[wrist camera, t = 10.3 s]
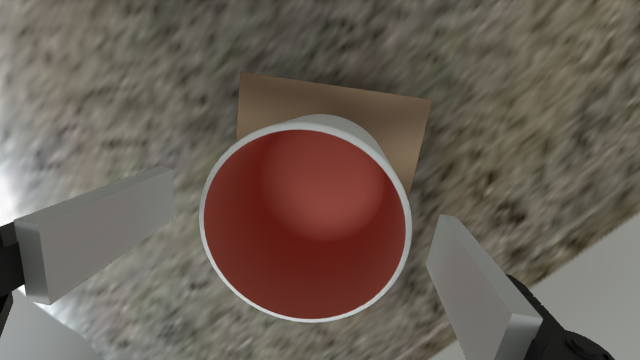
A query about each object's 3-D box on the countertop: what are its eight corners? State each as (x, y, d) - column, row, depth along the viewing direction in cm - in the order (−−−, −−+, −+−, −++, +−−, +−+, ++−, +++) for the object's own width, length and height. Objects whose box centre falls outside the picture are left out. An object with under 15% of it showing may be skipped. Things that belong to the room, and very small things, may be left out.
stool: (269, 79, 30) (240, 71, 22) (411, 100, 29) (432, 99, 21) (257, 209, 33) (228, 242, 26) (382, 231, 33) (391, 272, 25)
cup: (397, 120, 22) (432, 135, 12) (377, 244, 24) (393, 338, 15) (263, 106, 22) (195, 110, 13) (258, 228, 25) (198, 307, 15)
